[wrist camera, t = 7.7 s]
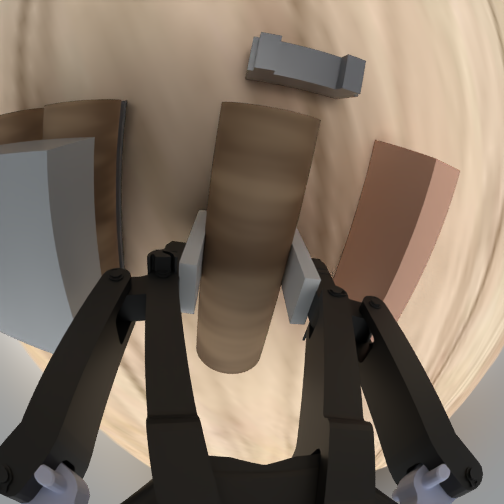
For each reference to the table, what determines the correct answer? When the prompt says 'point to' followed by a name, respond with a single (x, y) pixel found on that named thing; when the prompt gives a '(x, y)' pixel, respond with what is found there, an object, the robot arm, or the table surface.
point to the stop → (395, 225)
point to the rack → (304, 68)
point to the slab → (46, 237)
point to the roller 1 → (21, 126)
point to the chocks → (118, 181)
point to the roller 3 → (250, 228)
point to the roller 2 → (105, 155)
